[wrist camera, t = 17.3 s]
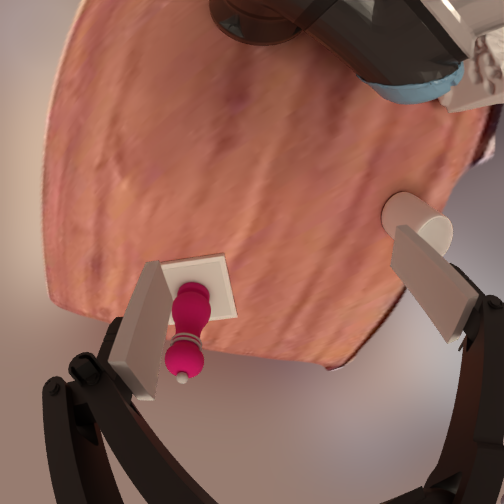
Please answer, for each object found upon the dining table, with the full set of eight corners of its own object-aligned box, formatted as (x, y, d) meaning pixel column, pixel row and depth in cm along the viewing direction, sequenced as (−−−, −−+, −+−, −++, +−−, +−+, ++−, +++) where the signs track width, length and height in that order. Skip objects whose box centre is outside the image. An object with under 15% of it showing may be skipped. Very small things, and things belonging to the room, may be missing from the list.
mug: (395, 181, 44) (432, 205, 34) (431, 208, 48) (466, 233, 37) (371, 224, 49) (401, 256, 38) (409, 245, 52) (439, 276, 42)
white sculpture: (433, 117, 35) (536, 82, 11) (398, 41, 33) (470, -28, 8) (492, 111, 34) (574, 93, 9) (464, 46, 31) (531, 7, 6)
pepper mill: (168, 294, 52) (148, 380, 35) (190, 272, 49) (174, 362, 32) (196, 313, 55) (188, 399, 38) (220, 293, 52) (217, 383, 35)
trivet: (146, 264, 49) (145, 267, 48) (224, 252, 49) (224, 256, 48) (169, 321, 57) (168, 325, 56) (237, 314, 57) (237, 317, 56)
